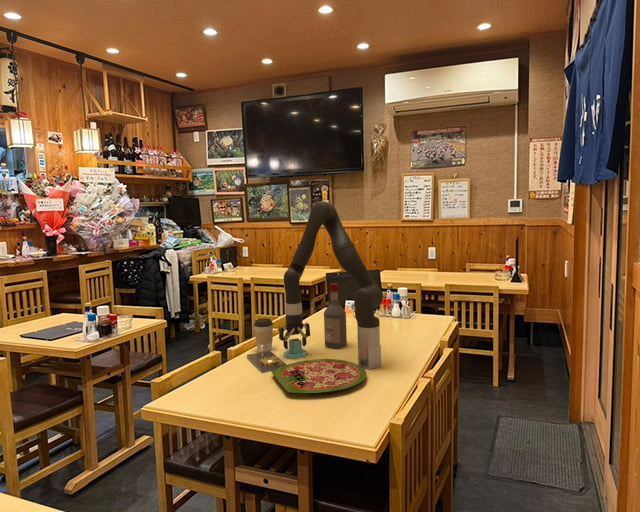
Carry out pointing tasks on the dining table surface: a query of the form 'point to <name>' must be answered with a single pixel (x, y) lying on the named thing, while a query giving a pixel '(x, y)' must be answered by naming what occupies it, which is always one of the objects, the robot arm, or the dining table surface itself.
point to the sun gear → (269, 361)
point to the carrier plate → (257, 356)
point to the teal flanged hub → (295, 350)
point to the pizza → (319, 375)
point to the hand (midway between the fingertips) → (295, 347)
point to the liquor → (335, 322)
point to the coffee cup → (264, 333)
